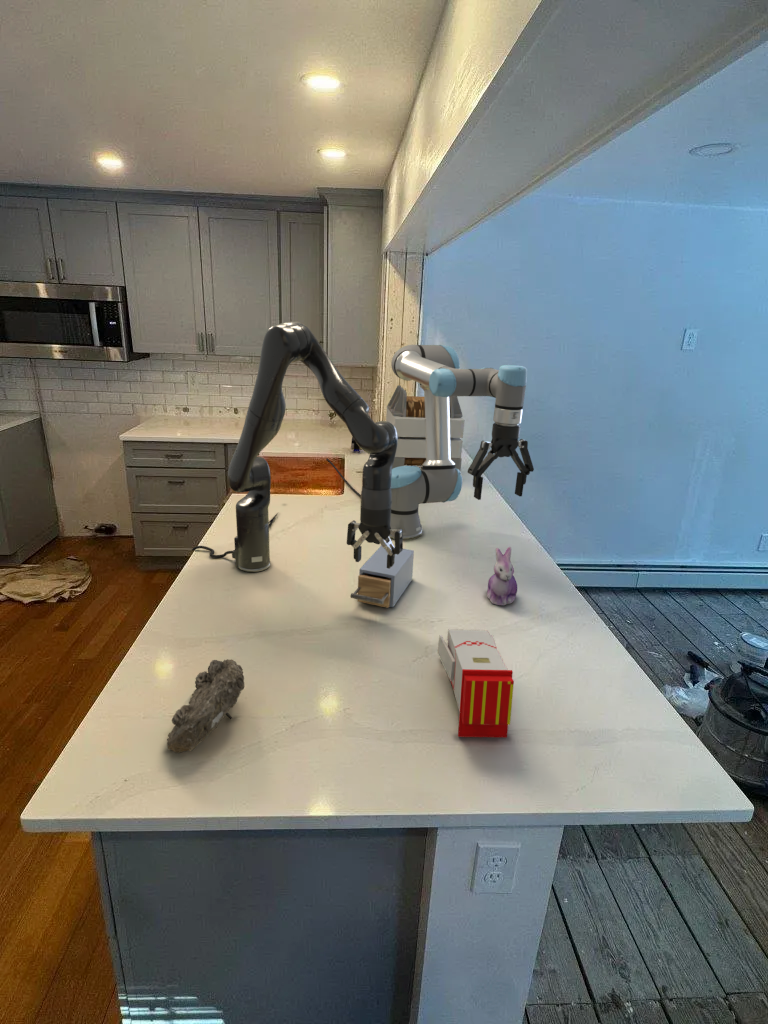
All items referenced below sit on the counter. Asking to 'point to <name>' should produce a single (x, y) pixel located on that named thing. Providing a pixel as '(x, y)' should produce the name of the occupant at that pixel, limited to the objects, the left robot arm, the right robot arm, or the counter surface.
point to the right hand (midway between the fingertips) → (498, 496)
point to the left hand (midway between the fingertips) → (373, 564)
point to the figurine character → (355, 446)
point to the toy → (478, 682)
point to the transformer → (420, 428)
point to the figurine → (502, 580)
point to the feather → (272, 520)
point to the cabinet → (391, 570)
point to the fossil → (206, 705)
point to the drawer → (373, 590)
